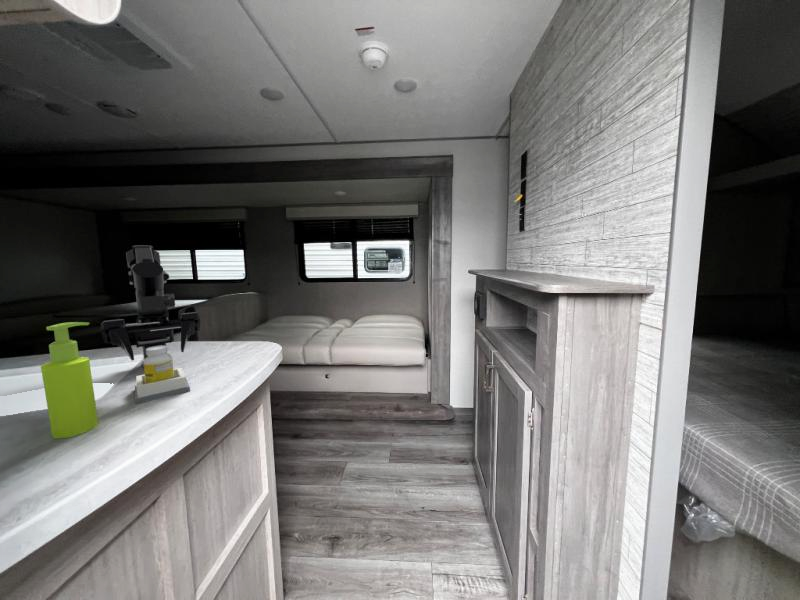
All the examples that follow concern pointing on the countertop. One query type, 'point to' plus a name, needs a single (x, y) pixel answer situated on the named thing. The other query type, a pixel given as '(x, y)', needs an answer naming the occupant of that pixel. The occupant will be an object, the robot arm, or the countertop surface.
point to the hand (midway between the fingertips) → (158, 355)
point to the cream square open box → (160, 387)
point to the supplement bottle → (158, 364)
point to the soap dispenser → (68, 386)
